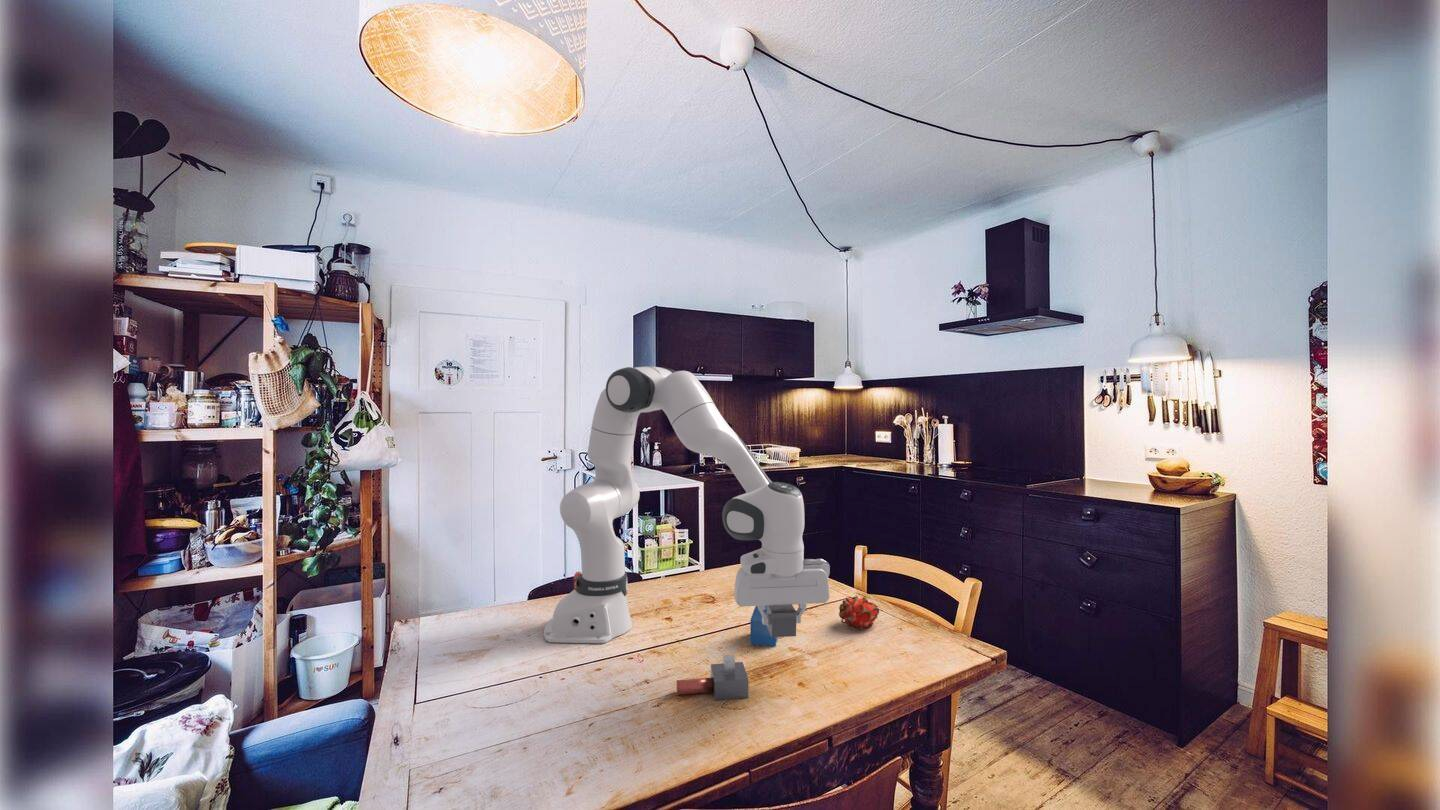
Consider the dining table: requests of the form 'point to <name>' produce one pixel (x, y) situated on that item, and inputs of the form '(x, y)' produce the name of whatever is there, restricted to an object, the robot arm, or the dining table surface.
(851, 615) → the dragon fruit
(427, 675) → the dining table surface
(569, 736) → the dining table surface
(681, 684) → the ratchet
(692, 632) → the dining table surface
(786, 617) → the grey block
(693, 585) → the dining table surface
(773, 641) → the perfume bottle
